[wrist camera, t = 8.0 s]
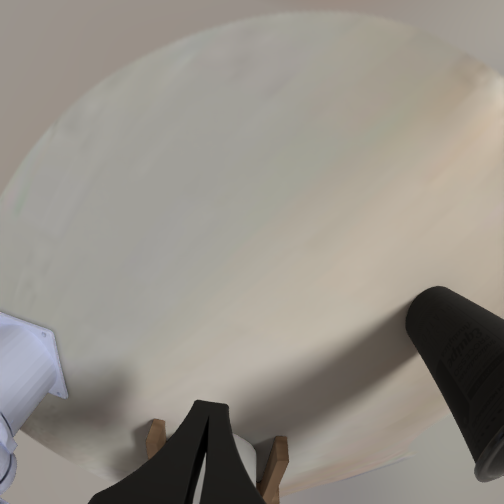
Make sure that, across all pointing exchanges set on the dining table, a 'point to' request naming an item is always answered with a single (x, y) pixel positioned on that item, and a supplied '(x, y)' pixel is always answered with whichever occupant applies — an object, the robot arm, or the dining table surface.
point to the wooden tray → (265, 488)
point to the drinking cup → (465, 369)
